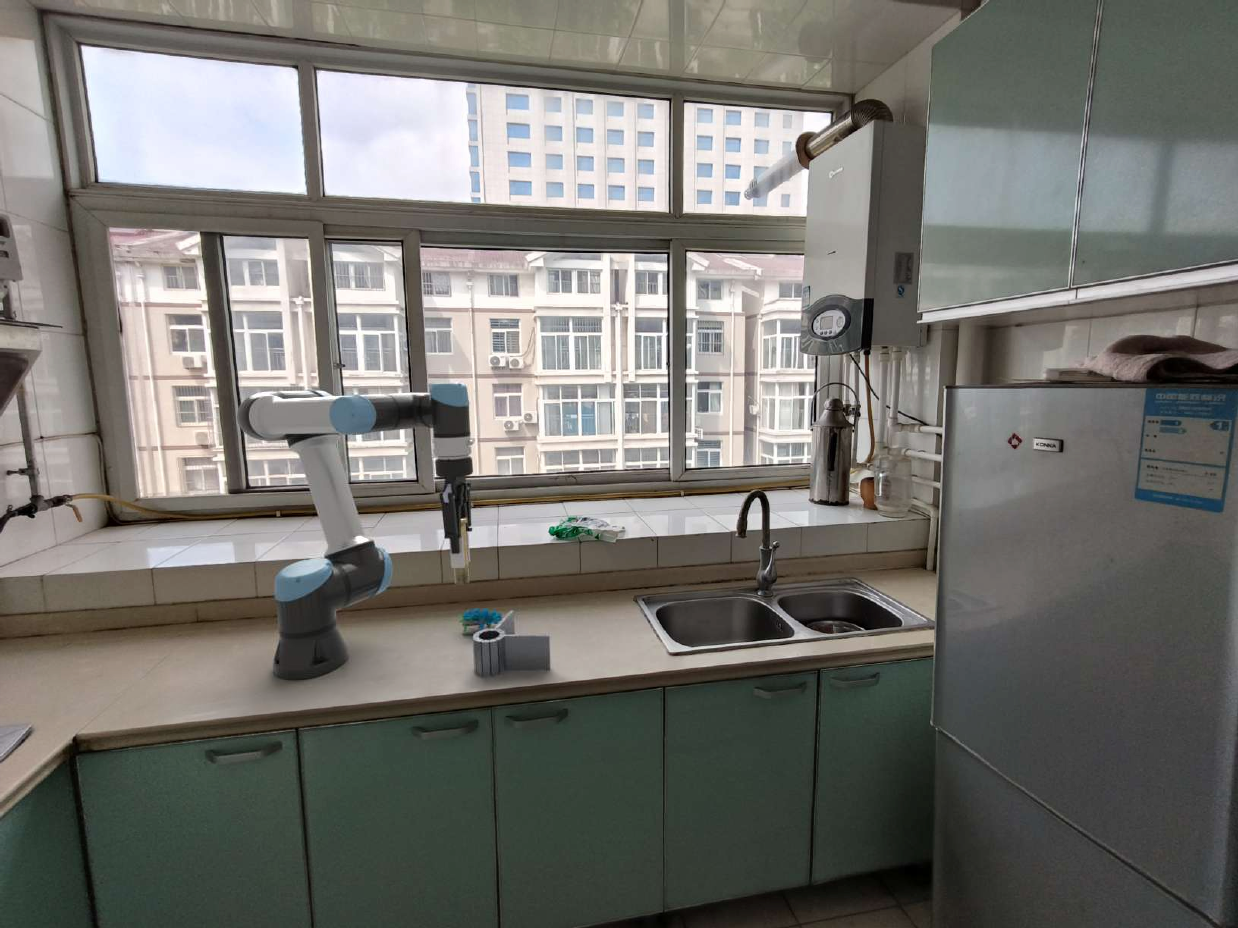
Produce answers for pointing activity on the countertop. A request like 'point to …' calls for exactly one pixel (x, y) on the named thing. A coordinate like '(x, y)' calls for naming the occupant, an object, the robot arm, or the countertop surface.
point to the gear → (479, 618)
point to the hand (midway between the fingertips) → (460, 564)
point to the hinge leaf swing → (507, 623)
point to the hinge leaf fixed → (509, 652)
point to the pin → (463, 573)
